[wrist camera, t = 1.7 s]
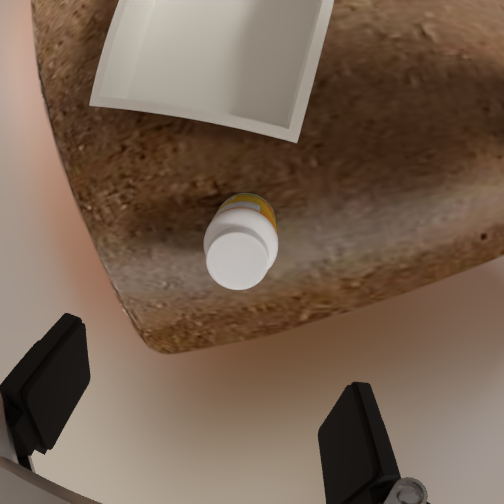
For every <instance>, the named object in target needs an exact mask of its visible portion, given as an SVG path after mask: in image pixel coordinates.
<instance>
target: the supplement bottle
mask: <svg viewBox="0 0 504 504" xmlns="http://www.w3.org/2000/svg"><path fill="white" fill-rule="evenodd" d="M204 252H205V256H206V265H207V269H208V271H209V273H210V275H211V277H212V278H213V279H214V280H215V281H216V282H217V283H218V284H220V285H222V286H223V287H226V288H229V289H233V290H244V289H248V288H251V287H253V286H255V285H256V284H257V283H259V282H260V281H261V280H262V279H263V277H264V276H265V274H266V272H267V270H268V269H269V268H270V267H271V266H272V264H273V263H274V261H275V259H276V256H277V252H278V236H277V227H276V219H275V215H274V212H273V209H272V208H271V206H270V205H269V203H268V202H267V201H266V200H264V199H263V198H261V197H260V196H257V195H255V194H250V193H240V194H237V195H234V196H232V197H230V198H228V199H227V200H226V201H225V202H224V203H223V204H222V205H221V206H220V208H219V209H218V211H217V213H216V214H215V216H214V218H213V220H212V221H211V223H210V224H209V226H208V228H207V230H206V233H205V237H204Z"/></svg>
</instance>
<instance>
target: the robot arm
mask: <svg viewBox="0 0 504 504" xmlns="http://www.w3.org/2000/svg"><path fill="white" fill-rule="evenodd" d="M86 341H87V340H86V329H85V324H84V323H82V320H81V318H79V317H77V316H74V315H71V314H69V313H65V314H64V315H63V316H62V317H61V318H60V319H59V320H58V321H57V322H56V323H55V324H54V326H53V327H52V328H51V329H50V330H49V331H48V332H47V333H46V334H45V336H44V337H43V338H42V339H41V340H39V341H37V342H36V343H35V344H34V345H33V347H32V348H31V349H30V350H29V351H28V352H27V353H26V354H25V356H24V357H23V358H22V359H21V360H20V362H19V363H18V364H17V365H16V366H15V367H14V369H13V370H12V371H11V372H10V374H9V375H8V376H7V377H6V378H5V380H4V381H3V382H2V383H1V385H0V504H102V503H99V502H97V501H94V500H91V499H89V498H87V497H84V496H82V495H80V494H77V493H75V492H73V491H70V490H68V489H66V488H64V487H62V486H59V485H57V484H55V483H53V482H51V481H49V480H47V479H45V478H43V477H41V476H39V475H37V474H36V473H35V470H34V466H33V463H32V459H31V455H32V453H33V451H34V450H37V451H38V452H40V453H42V454H44V455H45V453H46V451H47V449H49V450H51V449H52V448H53V446H54V445H55V443H56V441H57V439H58V437H59V436H60V434H61V432H62V430H63V428H64V426H65V424H66V423H67V421H68V419H69V417H70V415H71V414H72V412H73V410H74V408H75V407H76V405H77V403H78V401H79V400H80V398H81V396H82V394H83V393H84V390H85V389H86V388H87V386H88V384H89V382H90V368H89V361H88V351H87V342H86ZM318 441H319V447H320V456H321V463H322V471H323V479H324V487H325V496H326V504H430V503H428V502H427V497H428V496H427V490H426V488H425V486H424V485H423V484H422V483H421V482H420V481H418V480H417V479H414V478H409V477H406V478H402V479H401V477H400V473H399V470H398V466H397V463H396V459H395V456H394V453H393V450H392V447H391V444H390V440H389V437H388V434H387V431H386V428H385V425H384V422H383V420H382V417H381V414H380V411H379V408H378V405H377V403H376V400H375V397H374V394H373V392H372V388H371V386H370V384H369V383H363V382H353V383H352V384H351V385H348V386H347V387H346V388H345V390H344V391H343V393H342V394H341V396H340V398H339V399H338V401H337V402H336V404H335V406H334V407H333V409H332V410H331V412H330V413H329V415H328V416H327V418H326V419H325V421H324V423H323V424H322V425H321V427H320V428H319V431H318Z"/></svg>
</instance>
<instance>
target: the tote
mask: <svg viewBox="0 0 504 504" xmlns="http://www.w3.org/2000/svg"><path fill="white" fill-rule="evenodd" d="M333 3H334V0H119V2H118V5H117V7H116V10H115V13H114V16H113V19H112V22H111V25H110V28H109V31H108V34H107V37H106V40H105V43H104V47H103V50H102V54H101V57H100V61H99V65H98V69H97V73H96V77H95V81H94V85H93V89H92V94H91V99H90V103H89V106H97V107H108V108H117V109H126V110H134V111H142V112H150V113H157V114H163V115H170V116H176V117H182V118H188V119H193V120H199V121H204V122H209V123H214V124H219V125H224V126H229V127H233V128H238V129H242V130H246V131H251V132H255V133H259V134H263V135H267V136H271V137H275V138H279V139H283V140H286V141H290V142H294V143H297V142H298V138H299V135H300V131H301V127H302V123H303V120H304V116H305V112H306V108H307V105H308V101H309V97H310V93H311V89H312V86H313V82H314V78H315V74H316V70H317V66H318V62H319V59H320V55H321V51H322V47H323V43H324V39H325V35H326V31H327V27H328V23H329V19H330V15H331V11H332V7H333Z"/></svg>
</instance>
